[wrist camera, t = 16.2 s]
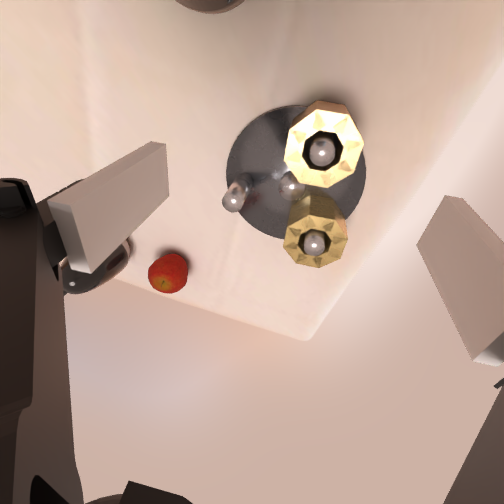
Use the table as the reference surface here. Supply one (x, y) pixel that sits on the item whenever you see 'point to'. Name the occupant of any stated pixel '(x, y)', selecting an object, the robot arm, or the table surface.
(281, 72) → the table surface
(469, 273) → the robot arm
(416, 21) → the table surface
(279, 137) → the carrier
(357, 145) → the seated gear
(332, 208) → the gear
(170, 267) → the apple
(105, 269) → the pump dispenser
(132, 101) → the table surface
